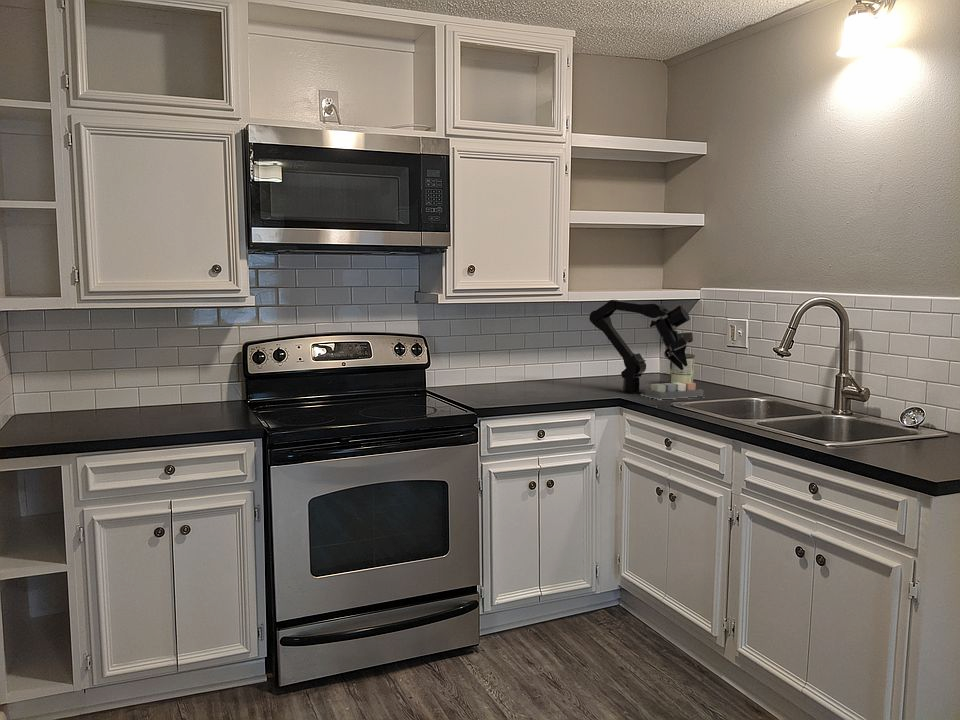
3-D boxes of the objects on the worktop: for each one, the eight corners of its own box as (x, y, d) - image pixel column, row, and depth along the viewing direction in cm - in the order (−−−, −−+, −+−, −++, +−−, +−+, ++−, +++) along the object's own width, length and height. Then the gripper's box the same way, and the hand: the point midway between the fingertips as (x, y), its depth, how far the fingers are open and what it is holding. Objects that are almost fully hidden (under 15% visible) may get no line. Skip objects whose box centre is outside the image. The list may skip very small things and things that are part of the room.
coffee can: (663, 385, 345) (665, 353, 343) (684, 384, 348) (686, 353, 346) (676, 388, 335) (678, 356, 333) (697, 388, 338) (699, 355, 336)
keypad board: (640, 395, 313) (640, 388, 313) (686, 393, 324) (686, 385, 324) (658, 400, 303) (659, 392, 303) (705, 397, 314) (705, 389, 314)
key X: (660, 390, 313) (661, 383, 313) (668, 390, 315) (669, 383, 314) (667, 392, 309) (668, 385, 309) (675, 392, 311) (675, 384, 311)
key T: (680, 389, 318) (681, 382, 317) (688, 389, 320) (688, 382, 319) (687, 391, 314) (688, 383, 314) (695, 390, 316) (695, 383, 316)
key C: (670, 390, 315) (671, 382, 315) (678, 389, 317) (679, 382, 317) (677, 391, 312) (678, 384, 312) (685, 391, 314) (685, 383, 313)
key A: (650, 391, 311) (651, 384, 310) (658, 391, 312) (658, 383, 312) (657, 393, 307) (657, 385, 307) (665, 392, 309) (665, 385, 309)
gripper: (689, 318, 301) (708, 355, 298) (681, 329, 319) (698, 363, 317) (663, 330, 301) (681, 367, 298) (656, 340, 320) (673, 374, 317)
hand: (684, 367), depth 307 cm, fingers open, 9 cm apart
